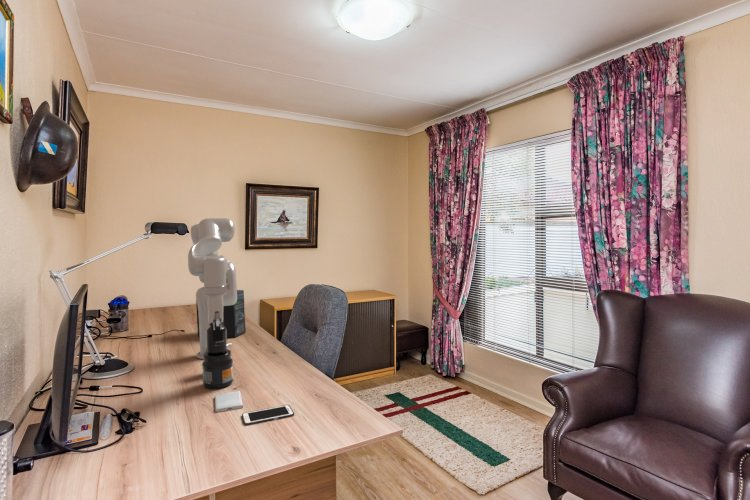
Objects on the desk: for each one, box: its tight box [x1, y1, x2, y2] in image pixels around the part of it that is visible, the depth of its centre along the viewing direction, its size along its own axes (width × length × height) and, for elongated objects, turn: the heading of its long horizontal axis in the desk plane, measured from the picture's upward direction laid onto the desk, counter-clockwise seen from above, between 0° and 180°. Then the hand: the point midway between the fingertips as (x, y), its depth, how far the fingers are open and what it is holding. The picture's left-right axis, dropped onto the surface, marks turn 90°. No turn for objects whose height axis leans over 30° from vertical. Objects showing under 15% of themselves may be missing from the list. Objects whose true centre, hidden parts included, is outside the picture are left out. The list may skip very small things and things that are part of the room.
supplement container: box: [201, 348, 234, 390], centre depth 151 cm, size 10×10×12 cm
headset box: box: [195, 289, 247, 338], centre depth 225 cm, size 22×12×26 cm, turn 81°
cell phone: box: [241, 404, 295, 426], centre depth 125 cm, size 8×15×1 cm, turn 114°
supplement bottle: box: [207, 322, 228, 354], centre depth 150 cm, size 7×7×12 cm
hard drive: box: [214, 390, 244, 413], centre depth 135 cm, size 2×8×12 cm
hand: (216, 337), depth 150 cm, fingers open, 9 cm apart
